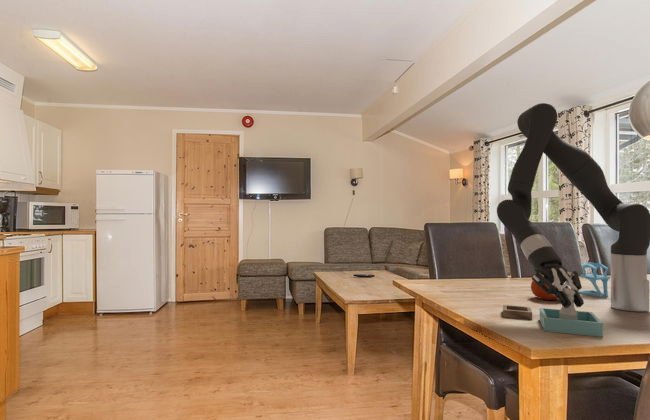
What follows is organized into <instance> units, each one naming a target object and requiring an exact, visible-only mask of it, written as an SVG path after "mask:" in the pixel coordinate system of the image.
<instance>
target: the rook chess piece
mask: <svg viewBox="0 0 650 420" xmlns="http://www.w3.org/2000/svg"><path fill="white" fill-rule="evenodd" d="M562 292H565V294H566V295H567V297H568V298H569V300H570V301H571V305H570V306H569V307H568V308H564V306H563V305H562V304H561V305H562V306H561V308H560V309H561V310H560V311H559V314H560V315H559V318H560V319H569V320H577V319H578V318H577V317H576V316H578V314H577V312H576V311H577V310H576V307H575V304H574V297H573V296H574V294H575V292H574V289H572V288H571V287H568V288H567V289H566V288H563V290H562Z"/></svg>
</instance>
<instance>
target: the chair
mask: <svg viewBox="0 0 650 420" xmlns="http://www.w3.org/2000/svg"><path fill="white" fill-rule="evenodd" d="M581 268H582V274H580V275H579V276H580V277H579V278H583V279H586V280H588V281H589V282H590V283H591V284H592V286H593V287H594V289H593V290H592V289H591V290H589V289H587V290H579V291H578V293H579V295H586V296H592V297H598V298H604V297H605V298H608V297H609V293H608V292H609V291H608V290H609V289H608V281H609V280H611V276H608V271H609V267H607V266H606V265H605V264H602V263H600V262H599V263H598V262H596V263H595V262H591V261H588V262H585V263H583V264H582V265H581ZM586 268H587V269H588V268H590V269H592V273H590V274H586V273H587V271H586ZM598 268H603V269H604V270H605V271H604V272H603V275H600V274H598V273H597V271H598ZM600 280H601V282H602V289H603V292H602V291H601V289H600V288H599V286H598V283H597V281H600Z"/></svg>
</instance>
